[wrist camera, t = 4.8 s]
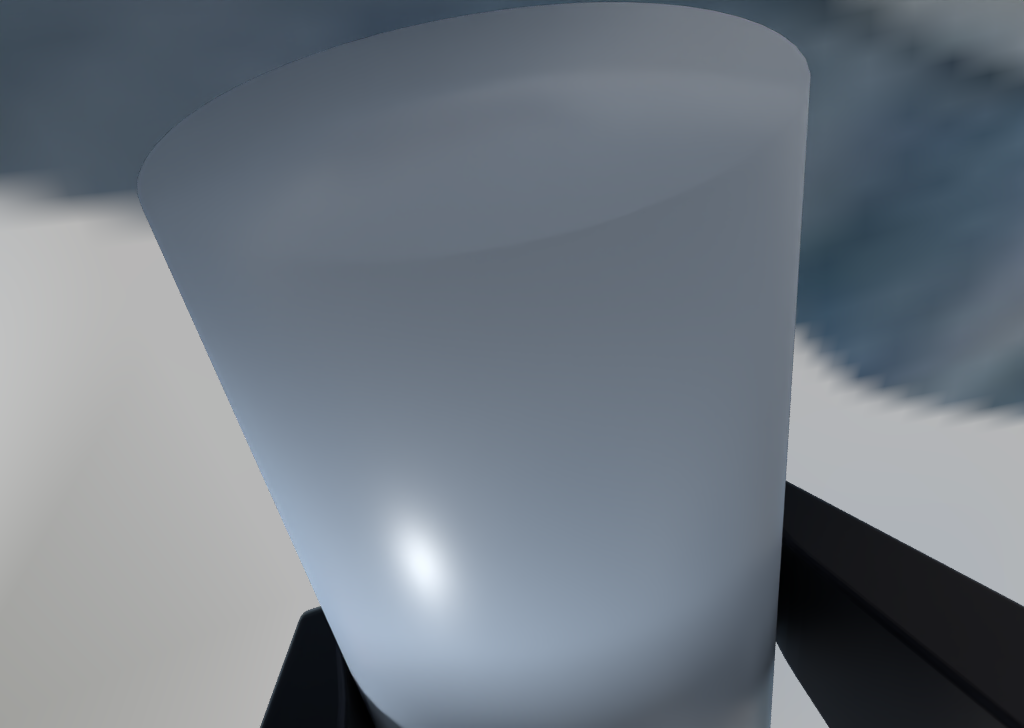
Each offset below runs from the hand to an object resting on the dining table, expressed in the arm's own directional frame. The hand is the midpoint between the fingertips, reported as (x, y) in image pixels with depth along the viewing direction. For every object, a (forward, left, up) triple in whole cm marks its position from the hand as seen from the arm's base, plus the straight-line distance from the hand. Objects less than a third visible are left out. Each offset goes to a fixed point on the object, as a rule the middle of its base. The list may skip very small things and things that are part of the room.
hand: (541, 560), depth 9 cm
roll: (0, 0, -2) cm, 2 cm away
